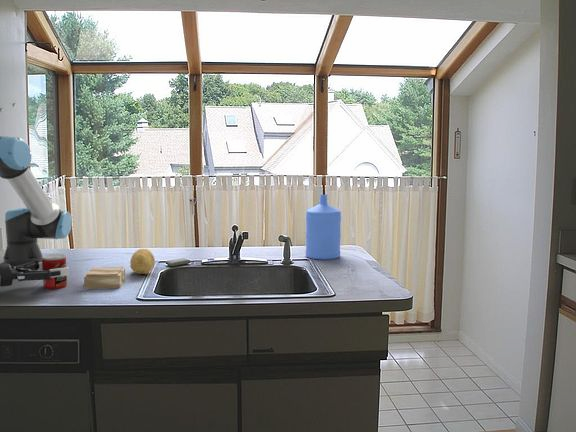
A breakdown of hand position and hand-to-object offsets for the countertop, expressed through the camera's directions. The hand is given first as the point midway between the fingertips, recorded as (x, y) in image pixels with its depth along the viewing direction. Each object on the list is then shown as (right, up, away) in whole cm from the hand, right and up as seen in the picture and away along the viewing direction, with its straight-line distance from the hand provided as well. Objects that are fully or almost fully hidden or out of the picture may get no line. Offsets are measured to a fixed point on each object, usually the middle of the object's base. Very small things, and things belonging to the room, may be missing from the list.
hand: (63, 267), depth 196 cm
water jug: (+96, 0, +52) cm, 109 cm away
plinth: (+14, -6, +2) cm, 16 cm away
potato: (+23, -4, +19) cm, 30 cm away
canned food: (-3, -7, -1) cm, 7 cm away
